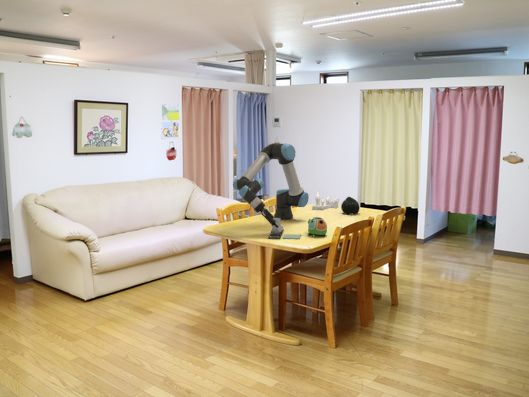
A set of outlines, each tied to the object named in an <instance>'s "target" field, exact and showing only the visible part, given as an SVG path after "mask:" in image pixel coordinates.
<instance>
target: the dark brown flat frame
mask: <svg viewBox="0 0 529 397" xmlns="http://www.w3.org/2000/svg"><path fill="white" fill-rule="evenodd" d="M284 231H285V230H284V228H283V230H282V231H281V232H280V234H272V229H271V230H270V233H269V235H268V237H267V240H281V239H282V236H283V235H284ZM270 236H271V237H270Z"/></svg>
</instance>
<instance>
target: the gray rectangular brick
mask: <svg viewBox="0 0 529 397" xmlns="http://www.w3.org/2000/svg"><path fill="white" fill-rule="evenodd" d="M273 220H274V221H275V222H276V223H277V224H278V225H279V226H280V224H281V219H280V218H273ZM271 230H272V234H280V232H279V231H278V230H277V229H276V228H275V227H274V226H272V225H271Z"/></svg>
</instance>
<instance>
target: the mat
mask: <svg viewBox="0 0 529 397" xmlns="http://www.w3.org/2000/svg"><path fill="white" fill-rule="evenodd" d="M301 236H302V235H301V234H293V233H292V234H290V233H289V234H288V233H285V234H284V233H283V237H282V239H283V240H300V239H301Z"/></svg>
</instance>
